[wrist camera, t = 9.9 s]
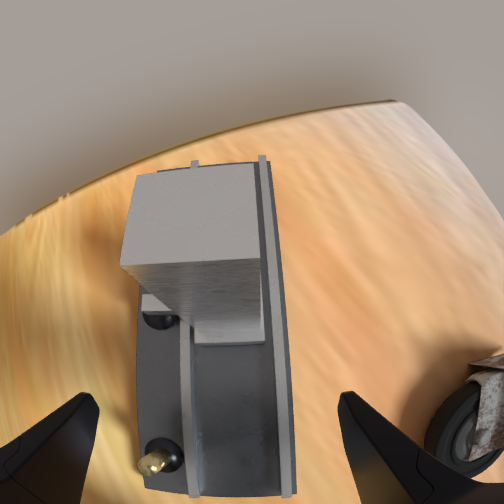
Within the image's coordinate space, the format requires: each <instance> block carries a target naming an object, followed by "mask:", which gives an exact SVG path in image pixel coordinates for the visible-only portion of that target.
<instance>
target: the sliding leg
mask: <svg viewBox="0 0 504 504" xmlns="http://www.w3.org/2000/svg"><path fill="white" fill-rule="evenodd" d="M119 266H121V267H122V268H123V269H124V270H125V271H126V272H127V273H128V274H129V275H130V276H132V277H133V278H134V279H135V280H136V281H137V282H138V283H140V284H141V285H142V286H143V287H144V288H145V289H146V290H148V291H149V292H150V293H151V294H142V307H141V311H142V312H144V313H145V314H147V315H153V316H157V315H178V316H179V317H180V318H182V319H183V320H184V321H185V322H187V323H188V324H189V325H191V326H192V327H193V328H195V343H196V344H197V345H199V346H222V345H249V344H265V333H264V317H263V302H262V286H261V271H260V247H259V233H258V218H257V205H256V191H255V177H254V164H253V163H251V164H235V165H222V166H210V167H200V168H190V169H181V170H173V171H165V172H157V173H150V174H143V175H137V177H136V181H135V185H134V189H133V194H132V198H131V203H130V207H129V212H128V217H127V222H126V228H125V233H124V239H123V245H122V251H121V257H120V264H119Z"/></svg>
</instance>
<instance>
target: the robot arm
mask: <svg viewBox="0 0 504 504" xmlns="http://www.w3.org/2000/svg"><path fill="white" fill-rule="evenodd" d="M99 412H100V410H99V407H98V405H97V403H96V401H95V400H94V398H93V396H92V395H91V394H90V393H85V392H80V393H79V394H77V395H76V396H75V397H73V398H72V399H70V400H69V401H68V402H66V403H65V404H64V405H62V406H61V407H59V408H58V409H57V410H55V411H54V412H52V413H51V414H50V415H48V416H47V417H45V418H44V419H43V420H41V421H40V422H38V423H37V424H35V425H34V426H33V427H31V428H30V429H28V430H27V431H26V432H24V433H23V434H21V435H20V436H18V437H17V438H16V439H14V440H13V441H11V442H10V443H8V444H6V445H5V446H3V447H1V448H0V504H80V501H81V496H82V491H83V486H84V482H85V478H86V473H87V469H88V465H89V461H90V457H91V454H92V450H93V446H94V441H95V435H96V429H97V424H98V418H99ZM338 417H339V422H340V427H341V432H342V438H343V443H344V448H345V452H346V455H347V458H348V461H349V465H350V468H351V471H352V474H353V477H354V480H355V484H356V487H357V490H358V493H359V497H360V500H361V503H362V504H504V483H483V482H478V481H475V480H473V479H471V478H469V477H467V476H465V475H463V474H461V473H459V472H458V471H456V470H454V469H452V468H450V467H449V466H447V465H445V464H444V463H442V462H441V461H439V460H437V459H436V458H435V457H433V456H432V455H430V454H429V453H428V452H426V451H425V450H424V449H423V448H421V447H419V445H418V444H416V443H415V442H414V441H413V440H411V439H410V438H409V437H408V436H406V435H405V434H404V433H403V432H401V431H400V430H399V429H398V428H397V427H395V426H394V425H393V424H392V423H391V422H389V421H388V420H387V419H386V418H385V417H383V416H382V415H381V414H380V413H379V412H377V411H376V410H375V409H374V408H373V407H371V406H370V405H369V404H368V403H367V402H366V401H364V400H363V399H362V398H361V397H360V396H359V395H357V394H356V393H355V392H354V391H348V392H343V393H341V395H340V399H339V404H338Z"/></svg>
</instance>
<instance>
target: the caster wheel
mask: <svg viewBox="0 0 504 504" xmlns="http://www.w3.org/2000/svg"><path fill="white" fill-rule="evenodd" d="M469 364H471V365H478V366H486V367H489V368H488V369H486V370H483V371H480V372H477V373H475V374H473V375H472V376H470V377H469V378H468V379H467V380H466V381H465V385H464V386H462V387H461V388H459V389H458V390H457V391H455V392H454V393H453V394H452V395H451V396H450V397H448V398H447V399H446V400H445V402H444V403H443V404H442V405H441V407H440V408H439V409H438V411H437V412H436V414H435V415H434V417H433V419H432V421H431V423H430V425H429V428H428V430H427V433H426V437H425V446H424V450H425V451H426V452H428V453H429V454H430V455H432V456H433V457H435V458H436V459H437V460H439V461H441V462H442V463H444V464H445V465H447V466H449V467H450V468H452V469H454V470H456V471H458V472H459V473H461V474H463V475H465V476H467V477H469V478H473V477H475V476H477V475H478V474H480V473H482V472H483V471H484V470H486V469H487V468H488V467H489V466H491V465H492V464H493V463H494V462H495V460H496V459H497V458H498V457H499V456H500V455H501V453H502V452H503V451H504V354H501V355H497V356H494V357H490V358H486V359H483V360H479V361H475V362H471V363H469Z"/></svg>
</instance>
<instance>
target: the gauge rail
mask: <svg viewBox="0 0 504 504" xmlns="http://www.w3.org/2000/svg"><path fill="white" fill-rule="evenodd" d="M251 163H253V164H254V177H255V191H256V205H257V218H258V233H259V247H260V271H261V286H262V302H263V317H264V333H265V344H249V345H222V346H199V345H197V344H196V343H195V328H193V327H192V326H191V325H189V324H188V323H187V322H185V321H184V320H183V319H182V318H180V317H179V316H178V315H157V316H153V315H147V314H145V313H144V312H142V311H141V307H142V294H151V293H150V292H149V291H148V290H146V289H145V288H144V287H143V286H142V285H141V284H140V294H139V307H138V324H137V354H136V387H137V415H138V431H139V443H140V454H141V459H139V461H138V462H137V467H138V469H139V471H140V472H141V473H142V474H143V479H144V486H145V488H147V489H153V490H159V491H165V492H172V493H179V494H188V495H189V498H199V497H200V496H213V497H266V496H280V495H281V496H282V498H290V497H292V494H297V485H296V457H295V434H294V415H293V398H292V382H291V367H290V354H289V341H288V328H287V316H286V305H285V293H284V283H283V272H282V262H281V252H280V243H279V233H278V224H277V215H276V206H275V198H274V189H273V181H272V173H271V165H270V161H266V155H258V162H242V163H228V164H215V165H204V166H200V165H199V161H198V160H194V161H191V167H185V168H177V169H168V170H161V171H157V172H165V171H173V170H181V169H190V168H200V167H210V166H222V165H235V164H251Z"/></svg>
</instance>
